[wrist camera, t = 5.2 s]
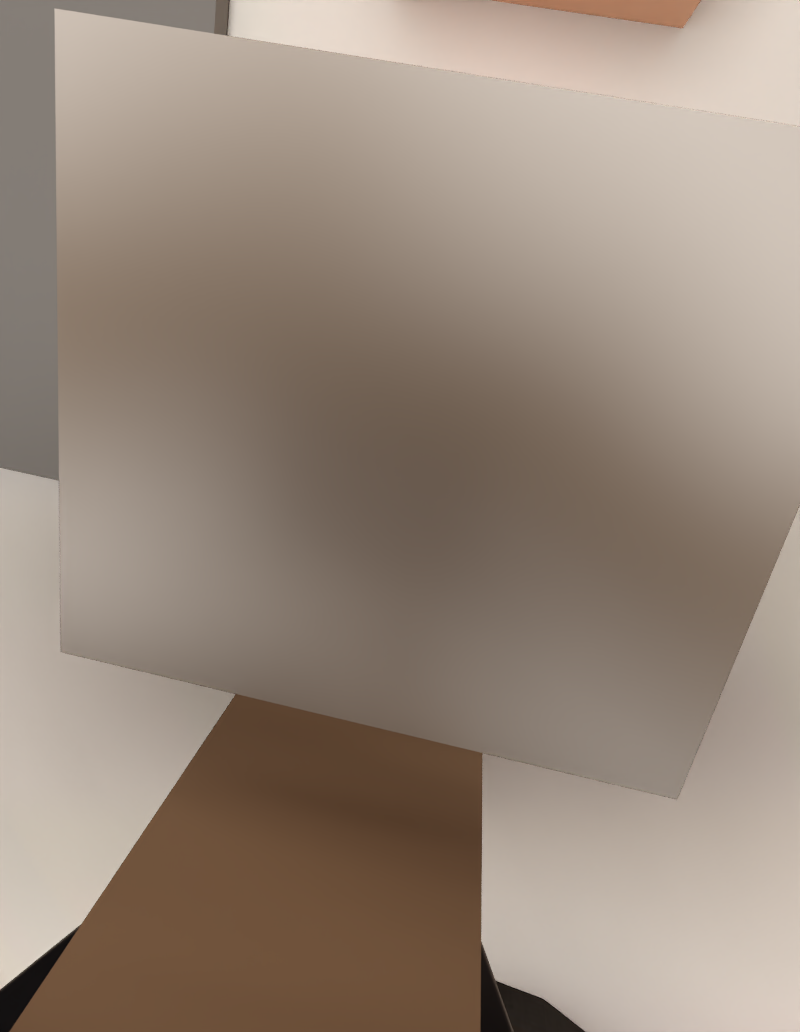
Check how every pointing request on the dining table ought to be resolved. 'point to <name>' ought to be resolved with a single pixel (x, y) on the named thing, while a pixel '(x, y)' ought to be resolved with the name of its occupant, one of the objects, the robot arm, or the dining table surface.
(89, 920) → the turner
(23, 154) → the mat
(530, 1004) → the advertising column
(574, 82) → the dining table surface
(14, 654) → the dining table surface
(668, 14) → the tile
